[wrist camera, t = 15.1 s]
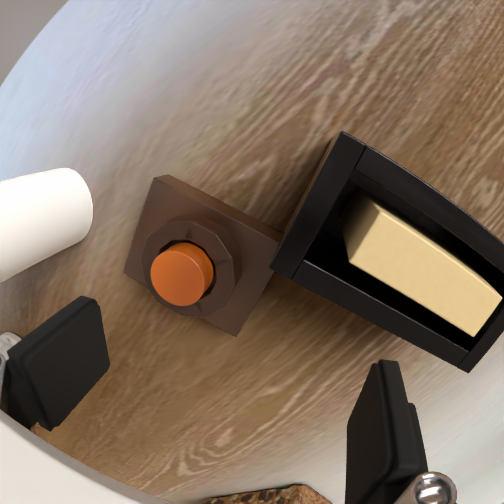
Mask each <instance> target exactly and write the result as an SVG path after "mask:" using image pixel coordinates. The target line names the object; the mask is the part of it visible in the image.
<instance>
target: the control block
mask: <svg viewBox="0 0 504 504" xmlns="http://www.w3.org/2000/svg"><path fill="white" fill-rule="evenodd" d="M281 236H282V233H280V232H279V231H277V230H275V229H273V228H271V227H269V226H267V225H265V224H264V223H262V222H260V221H258V220H256V219H254V218H252V217H250V216H248V215H246V214H245V213H243V212H241V211H239V210H237V209H235V208H233V207H231V206H229V205H227V204H225V203H223V202H221V201H220V200H218V199H216V198H214V197H212V196H210V195H208V194H206V193H204V192H202V191H200V190H198V189H196V188H194V187H192V186H190V185H188V184H186V183H184V182H182V181H180V180H178V179H176V178H174V177H172V176H170V175H163V176H159V177H155V178H154V179H153V182H152V184H151V187H150V190H149V193H148V195H147V198H146V201H145V204H144V207H143V210H142V213H141V216H140V219H139V222H138V225H137V228H136V232H135V235H134V238H133V241H132V245H131V248H130V251H129V255H128V258H127V261H126V265H125V269H124V273H125V274H127V275H128V276H130V277H132V278H133V279H135V280H137V281H138V282H140V283H141V284H143V285H145V286H146V287H148V288H149V289H150V291H151V292H152V293H153V295H154V296H155V297H156V299H157V300H158V302H160V303H161V304H163V305H165V306H166V307H168V308H170V309H171V310H173V311H175V312H177V313H178V314H180V315H187V316H198V317H200V318H202V319H203V320H205V321H207V322H209V323H211V324H212V325H214V326H216V327H218V328H220V329H222V330H223V331H225V332H227V333H229V334H231V335H233V336H235V337H237V335H238V334H239V332H240V330H241V328H242V327H243V325H244V323H245V322H246V320H247V318H248V316H249V315H250V313H251V311H252V310H253V308H254V306H255V304H256V303H257V301H258V299H259V297H260V296H261V294H262V292H263V290H264V289H265V287H266V285H267V283H268V282H269V280H270V278H271V276H272V275H273V273H274V271H273V270H272V269H270V268H269V264H270V262H271V259H272V257H273V255H274V252H275V250H276V248H277V246H278V243H279V241H280V239H281ZM177 243H190V244H193V245H195V246H197V247H199V248H200V249H202V250H203V251H204V252H205V253H206V254H207V256H208V257H209V259H210V261H211V263H212V266H213V280H212V282H211V284H210V286H209V287H208V289H207V290H206V291H205V292H204V294H203V295H202V296H201V298H200V299H199V300H198V301H197V302H195V303H194V304H191V305H188V306H177V305H174V304H171V303H169V302H167V301H166V300H164V299H163V298H162V297H161V296H160V295H159V294H158V293H157V291H156V290H155V288H154V286H153V283H152V280H151V267H152V264H153V262H154V260H155V259H156V257H157V256H159V255H160V254H161V253H163V252H164V251H165V250H167V249H168V248H169V247H171V246H173V245H175V244H177Z"/></svg>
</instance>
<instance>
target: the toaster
mask: <svg viewBox="0 0 504 504" xmlns="http://www.w3.org/2000/svg"><path fill="white" fill-rule="evenodd" d="M357 187H360V188H362V189H363V190H365V191H367V192H368V193H370V194H372V195H373V196H375V197H376V198H378V199H380V200H381V201H383V202H384V203H386V204H388V205H389V206H391V207H392V208H394V209H395V210H397V211H399V212H400V213H402V214H403V215H405V216H406V217H408V218H409V219H411V220H412V221H414V222H415V223H417V224H418V225H420V226H421V227H422V228H424V229H425V230H427V231H428V232H430V233H431V234H433V235H434V236H435V237H437V238H438V239H440V240H441V241H442V242H444V243H445V244H447V245H448V246H449V247H451V248H452V249H453V250H454V251H455V252H456V253H457V254H458V255H459V256H460V257H462V258H463V259H464V260H465V261H466V262H467V263H468V264H469V265H470V266H471V267H472V268H473V269H474V270H475V271H476V272H477V273H479V274H480V275H481V276H482V277H483V278H484V279H485V280H486V281H487V282H488V283H489V284H490V285H491V286H492V287H493V288H494V289H495V290H496V291H497V292H498V293H499V295H500V296H501V297H502V300H501V301H500V303H499V304H498V305H497V307H496V308H495V310H494V311H493V312H492V314H491V315H490V317H489V318H488V319H487V321H486V322H485V323H484V325H483V326H482V327H481V328H480V330H479V331H478V332H477V334H476V335H475V336H474V337H472V336H470V335H469V334H467V333H466V332H464V331H463V330H461V329H459V328H458V327H456V326H455V325H453V324H451V323H450V322H448V321H447V320H445V319H443V318H442V317H440V316H439V315H437V314H435V313H434V312H432V311H430V310H429V309H427V308H426V307H424V306H422V305H421V304H419V303H417V302H416V301H414V300H412V299H411V298H409V297H407V296H406V295H404V294H402V293H401V292H399V291H397V290H396V289H394V288H392V287H391V286H389V285H387V284H386V283H384V282H382V281H380V280H379V279H377V278H375V277H374V276H372V275H370V274H368V273H367V272H365V271H363V270H362V269H360V268H358V267H356V266H355V265H353V264H351V263H350V262H349V258H348V253H347V249H346V245H345V240H344V236H343V232H342V228H341V224H340V220H339V218H340V216H341V215H342V213H343V211H344V210H345V208H346V206H347V204H348V203H349V201H350V199H351V197H352V196H353V194H354V192H355V190H356V189H357ZM269 268H270V269H272V270H273V271H275V272H277V273H279V274H281V275H283V276H285V277H287V278H288V279H291V278H292V281H294V282H296V283H298V284H300V285H302V286H304V287H306V288H307V289H309V290H311V291H313V292H315V293H317V294H319V295H321V296H322V297H324V298H326V299H328V300H330V301H332V302H334V303H336V304H338V305H339V306H341V307H343V308H345V309H347V310H349V311H351V312H353V313H355V314H356V315H358V316H360V317H362V318H364V319H366V320H368V321H370V322H372V323H374V324H375V325H377V326H379V327H381V328H383V329H385V330H387V331H389V332H391V333H393V334H394V335H396V336H398V337H400V338H402V339H404V340H406V341H408V342H410V343H412V344H414V345H415V346H417V347H419V348H421V349H423V350H425V351H427V352H429V353H431V354H433V355H435V356H436V357H438V358H440V359H442V360H444V361H446V362H448V363H450V364H452V365H454V366H456V367H457V368H459V369H461V370H463V371H465V372H467V373H469V372H470V371H471V370H472V369H473V368H474V367H475V366H476V364H477V363H478V362H479V361H480V360H481V359H482V357H483V356H484V355H485V354H486V353H487V351H488V350H489V349H490V348H491V346H492V345H493V344H494V343H495V341H496V340H497V339H498V338H499V336H500V335H501V334H502V332H503V331H504V243H503V242H502V241H500V240H499V239H498V238H497V237H496V236H495V235H494V234H492V233H491V232H490V231H489V230H488V229H486V228H485V227H484V226H483V225H482V224H480V223H479V222H478V221H477V220H475V219H474V218H473V217H472V216H470V215H469V214H468V213H467V212H465V211H464V210H463V209H462V208H460V207H459V206H458V205H456V204H455V203H454V202H452V201H451V200H450V199H448V198H447V197H446V196H444V195H443V194H441V193H440V192H439V191H437V190H436V189H435V188H433V187H432V186H430V185H429V184H427V183H426V182H425V181H423V180H422V179H420V178H419V177H417V176H416V175H414V174H413V173H411V172H410V171H408V170H407V169H405V168H404V167H402V166H401V165H399V164H397V163H396V162H394V161H393V160H391V159H390V158H388V157H386V156H385V155H383V154H381V153H380V152H378V151H376V150H375V149H373V148H371V147H370V146H367V145H366V144H365V143H363V142H361V141H359V140H358V139H356V138H354V137H352V136H351V135H349V134H347V133H345V132H343V131H341V132H340V133H338V134H337V135H336V136H334V137H333V138H332V140H331V142H330V144H329V146H328V148H327V150H326V152H325V153H324V155H323V157H322V159H321V161H320V163H319V165H318V167H317V169H316V171H315V172H314V174H313V176H312V178H311V180H310V182H309V184H308V186H307V188H306V189H305V191H304V193H303V195H302V197H301V199H300V201H299V203H298V204H297V206H296V208H295V210H294V212H293V214H292V216H291V217H290V219H289V221H288V223H287V225H286V227H285V229H284V232H283V234H282V236H281V239H280V241H279V243H278V246H277V248H276V250H275V252H274V255H273V257H272V259H271V262H270V264H269Z"/></svg>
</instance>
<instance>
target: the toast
mask: <svg viewBox="0 0 504 504" xmlns="http://www.w3.org/2000/svg"><path fill="white" fill-rule="evenodd" d="M339 220H340V224H341V228H342V232H343V236H344V240H345V245H346V249H347V253H348V258H349V262H350V263H351V264H353V265H355V266H356V267H358V268H360V269H362V270H363V271H365V272H367V273H368V274H370V275H372V276H374V277H375V278H377V279H379V280H380V281H382V282H384V283H386V284H387V285H389V286H391V287H392V288H394V289H396V290H397V291H399V292H401V293H402V294H404V295H406V296H407V297H409V298H411V299H412V300H414V301H416V302H417V303H419V304H421V305H422V306H424V307H426V308H427V309H429V310H430V311H432V312H434V313H435V314H437V315H439V316H440V317H442V318H443V319H445V320H447V321H448V322H450V323H451V324H453V325H455V326H456V327H458V328H459V329H461V330H463V331H464V332H466V333H467V334H469V335H470V336H472V337H474V336H475V335H476V334H477V332H478V331H479V330H480V328H481V327H482V326H483V325H484V323H485V322H486V321H487V319H488V318H489V317H490V315H491V314H492V312H493V311H494V310H495V308H496V307H497V305H498V304H499V303H500V301H501V300H502V297H501V296H500V295H499V293H498V292H497V291H496V290H495V289H494V288H493V287H492V286H491V285H490V284H489V283H488V282H487V281H486V280H485V279H484V278H483V277H482V276H481V275H480V274H479V273H477V272H476V271H475V270H474V269H473V268H472V267H471V266H470V265H469V264H468V263H467V262H466V261H465V260H464V259H463V258H462V257H460V256H459V255H458V254H457V253H456V252H455V251H454V250H453V249H452V248H451V247H449V246H448V245H447V244H445V243H444V242H442V241H441V240H440V239H438V238H437V237H435V236H434V235H433V234H431V233H430V232H428V231H427V230H425V229H424V228H422V227H421V226H420V225H418V224H417V223H415V222H414V221H412V220H411V219H409V218H408V217H406V216H405V215H403V214H402V213H400V212H399V211H397V210H395V209H394V208H392V207H391V206H389V205H388V204H386V203H384V202H383V201H381V200H380V199H378V198H376V197H375V196H373V195H372V194H370V193H368V192H367V191H365V190H363V189H362V188H360V187H357V189H356V190H355V192H354V194H353V196H352V197H351V199H350V201H349V203H348V204H347V206H346V208H345V210H344V211H343V213H342V215H341V216H340V218H339Z"/></svg>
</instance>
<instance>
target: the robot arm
mask: <svg viewBox="0 0 504 504" xmlns="http://www.w3.org/2000/svg"><path fill="white" fill-rule="evenodd" d="M109 366H110V361H109V356H108V351H107V345H106V340H105V335H104V329H103V323H102V316H101V310H100V306H99V305H98V304H97V301H96V300H94V299H92V298H89V297H85V296H80V297H78V298H77V299H75V300H74V301H72V302H71V303H70V304H68V305H67V306H66V307H64V308H63V309H61V310H60V311H59V312H57V313H56V314H55V315H53V316H52V317H51V318H49V319H48V320H47V321H45V322H44V323H43V324H41V325H40V326H39V327H37V328H36V329H35V330H33V331H32V332H31V333H29V334H28V335H27V336H25V337H24V338H23V339H21V338H20V337H18V336H17V335H15V334H13V333H10V332H5V333H3V334H2V335H0V504H175V503H172V502H169V501H166V500H163V499H161V498H158V497H155V496H153V495H150V494H148V493H145V492H143V491H140V490H138V489H135V488H133V487H131V486H128V485H126V484H124V483H122V482H119V481H117V480H115V479H113V478H111V477H109V476H107V475H105V474H103V473H101V472H99V471H97V470H95V469H93V468H91V467H89V466H87V465H85V464H83V463H82V462H80V461H78V460H76V459H74V458H73V457H71V456H69V455H67V454H66V453H64V452H62V451H61V450H59V449H57V448H56V447H54V446H52V445H51V444H49V443H48V442H46V441H44V440H43V439H41V438H40V437H38V436H37V435H35V424H36V423H37V422H38V423H39V424H40V426H42V427H43V428H45V429H46V430H48V431H50V432H51V430H52V429H53V428H54V427H57V426H59V425H60V424H61V423H62V422H63V421H64V419H65V418H66V417H67V416H68V415H69V414H70V412H71V411H72V410H73V409H74V408H75V407H76V406H77V404H78V403H79V402H80V401H81V400H82V399H83V398H84V396H85V395H86V394H87V393H88V392H89V391H90V390H91V389H92V387H93V386H94V385H95V384H96V383H97V382H98V381H99V380H100V378H101V377H102V376H103V375H104V374H105V373H106V372H107V370H108V369H109ZM456 499H457V490H456V486H455V484H454V483H453V481H452V480H451V479H450V478H449V477H447V476H446V475H444V474H442V473H439V472H428V466H427V460H426V455H425V449H424V444H423V439H422V434H421V430H420V425H419V421H418V416H417V412H416V408H415V405H414V404H413V403H408V400H407V396H406V392H405V387H404V383H403V379H402V375H401V371H400V367H399V364H398V362H397V361H391V360H382V359H381V360H379V362H378V364H376V363H373V364H372V366H371V368H370V371H369V373H368V376H367V378H366V381H365V383H364V386H363V388H362V391H361V393H360V395H359V398H358V400H357V402H356V404H355V407H354V409H353V411H352V413H351V416H350V418H349V420H348V424H347V463H346V491H345V504H457V503H455V502H456Z"/></svg>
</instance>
